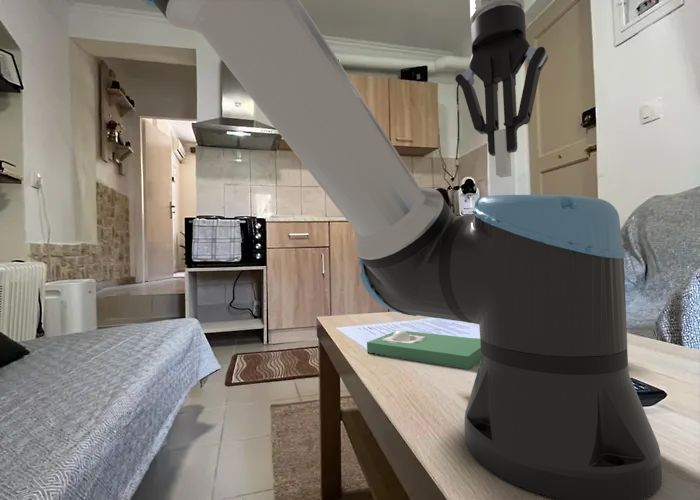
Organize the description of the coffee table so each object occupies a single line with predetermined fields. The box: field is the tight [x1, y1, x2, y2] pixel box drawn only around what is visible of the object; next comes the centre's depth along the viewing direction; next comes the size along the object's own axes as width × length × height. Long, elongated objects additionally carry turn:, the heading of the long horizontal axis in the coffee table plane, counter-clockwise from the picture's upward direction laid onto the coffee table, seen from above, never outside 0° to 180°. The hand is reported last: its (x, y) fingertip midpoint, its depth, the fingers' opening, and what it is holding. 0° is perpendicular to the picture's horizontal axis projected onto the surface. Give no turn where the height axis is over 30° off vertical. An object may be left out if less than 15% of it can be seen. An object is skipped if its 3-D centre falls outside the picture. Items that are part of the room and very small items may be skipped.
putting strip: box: [366, 330, 481, 370], centre depth 67 cm, size 12×19×2 cm, turn 53°
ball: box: [392, 329, 410, 341], centre depth 70 cm, size 4×4×4 cm
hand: (503, 175), depth 54 cm, fingers closed
